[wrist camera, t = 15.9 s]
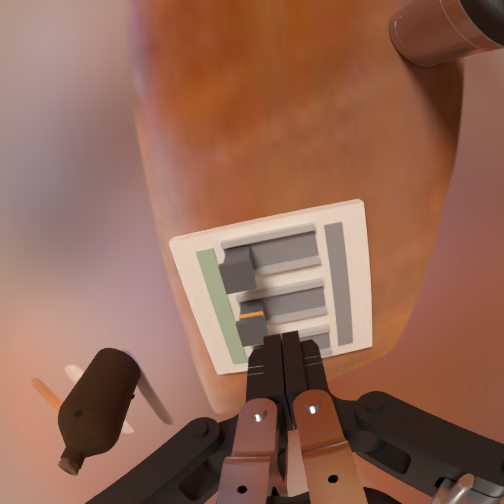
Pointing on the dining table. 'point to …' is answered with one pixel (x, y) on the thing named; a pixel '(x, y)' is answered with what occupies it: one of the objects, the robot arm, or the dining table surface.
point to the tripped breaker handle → (252, 323)
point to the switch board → (281, 280)
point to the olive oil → (97, 407)
